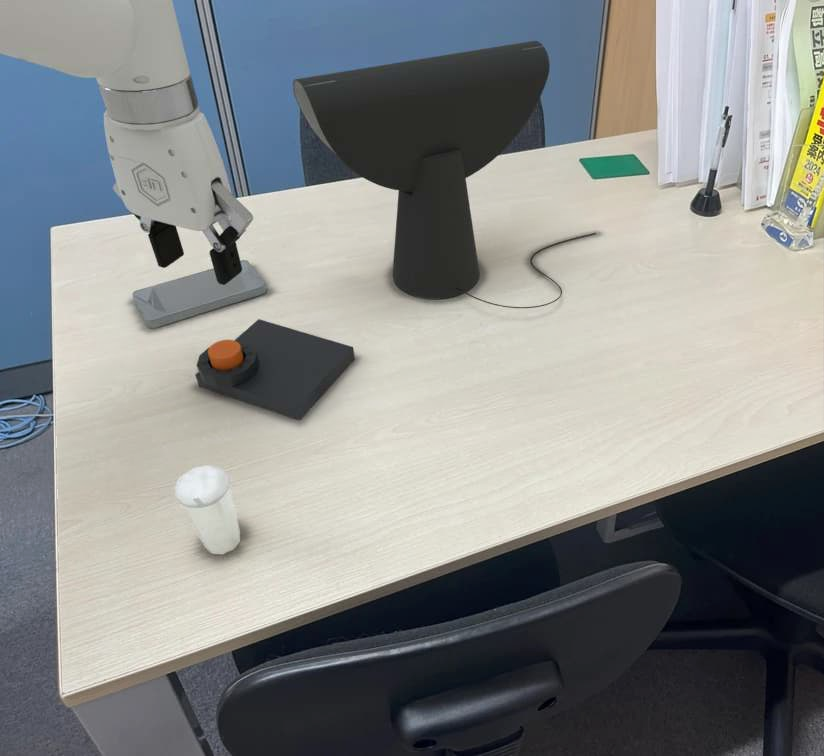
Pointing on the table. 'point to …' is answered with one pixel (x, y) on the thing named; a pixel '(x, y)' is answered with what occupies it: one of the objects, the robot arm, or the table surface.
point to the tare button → (225, 354)
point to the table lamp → (429, 146)
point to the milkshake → (210, 507)
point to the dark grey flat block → (278, 369)
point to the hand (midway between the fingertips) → (200, 268)
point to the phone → (195, 295)
